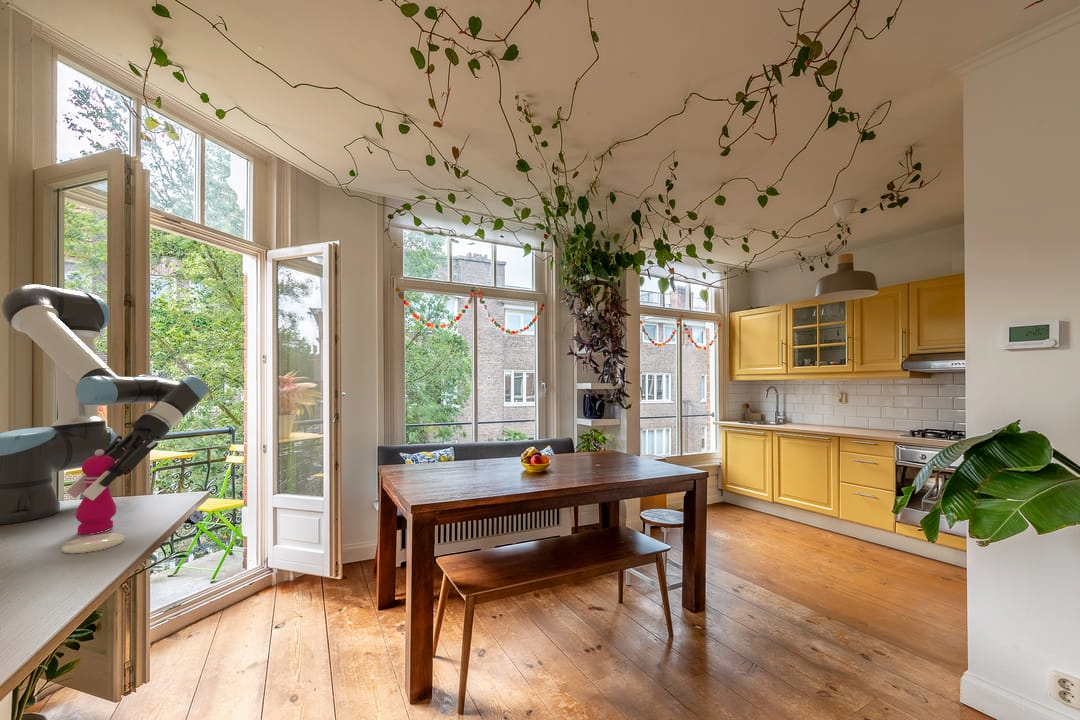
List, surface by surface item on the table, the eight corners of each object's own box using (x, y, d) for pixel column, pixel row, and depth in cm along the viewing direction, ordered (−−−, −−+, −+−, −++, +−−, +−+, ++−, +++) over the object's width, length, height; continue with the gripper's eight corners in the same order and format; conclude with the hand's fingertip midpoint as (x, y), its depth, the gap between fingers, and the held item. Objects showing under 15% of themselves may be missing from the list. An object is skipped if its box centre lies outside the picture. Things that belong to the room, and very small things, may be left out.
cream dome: (88, 538, 107) (88, 534, 107) (135, 536, 108) (135, 532, 108) (48, 554, 97) (48, 549, 97) (100, 552, 98) (100, 548, 98)
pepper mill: (123, 526, 116) (127, 447, 117) (92, 536, 109) (97, 451, 109) (98, 525, 117) (102, 446, 117) (66, 534, 109) (70, 451, 110)
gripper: (191, 432, 125) (116, 507, 109) (144, 429, 131) (68, 500, 115) (171, 414, 120) (90, 490, 104) (124, 411, 126) (40, 483, 110)
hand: (78, 495), depth 110 cm, fingers closed on pepper mill, 6 cm apart
